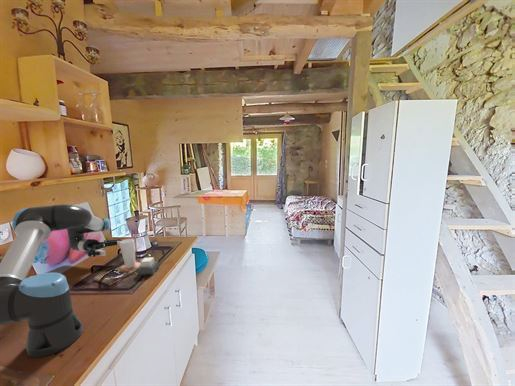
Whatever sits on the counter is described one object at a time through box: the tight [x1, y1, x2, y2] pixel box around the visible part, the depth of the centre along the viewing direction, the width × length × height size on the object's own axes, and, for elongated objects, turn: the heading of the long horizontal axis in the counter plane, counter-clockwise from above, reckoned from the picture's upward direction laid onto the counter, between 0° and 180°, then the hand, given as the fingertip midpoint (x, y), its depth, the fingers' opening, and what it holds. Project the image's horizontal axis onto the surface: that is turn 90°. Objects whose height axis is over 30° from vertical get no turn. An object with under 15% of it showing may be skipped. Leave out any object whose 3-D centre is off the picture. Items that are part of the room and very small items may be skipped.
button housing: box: [136, 260, 160, 277], centre depth 131 cm, size 8×8×4 cm
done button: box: [140, 256, 155, 267], centre depth 130 cm, size 5×5×4 cm
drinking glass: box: [119, 238, 137, 268], centre depth 134 cm, size 7×7×15 cm
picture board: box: [93, 260, 141, 285], centre depth 131 cm, size 22×13×1 cm, turn 151°
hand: (116, 248), depth 136 cm, fingers open, 13 cm apart
